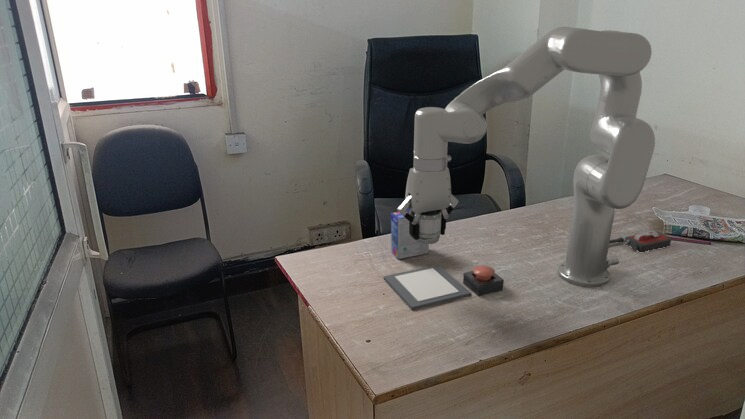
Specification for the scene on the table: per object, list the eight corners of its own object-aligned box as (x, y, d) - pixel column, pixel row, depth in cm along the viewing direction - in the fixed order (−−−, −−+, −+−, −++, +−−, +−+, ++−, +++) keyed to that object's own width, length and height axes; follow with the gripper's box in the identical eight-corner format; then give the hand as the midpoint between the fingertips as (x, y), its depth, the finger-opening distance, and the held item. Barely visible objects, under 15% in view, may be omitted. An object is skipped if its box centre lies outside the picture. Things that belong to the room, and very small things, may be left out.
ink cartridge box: (420, 245, 156) (422, 199, 150) (429, 253, 151) (431, 205, 146) (389, 251, 152) (389, 204, 147) (398, 260, 148) (398, 211, 142)
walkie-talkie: (650, 236, 162) (596, 246, 155) (652, 222, 160) (599, 232, 154) (674, 247, 154) (619, 259, 148) (677, 233, 153) (622, 244, 146)
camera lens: (409, 236, 130) (410, 206, 127) (432, 232, 133) (433, 202, 130) (421, 246, 125) (422, 215, 122) (445, 242, 127) (446, 211, 124)
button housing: (486, 277, 138) (487, 267, 137) (502, 290, 132) (503, 279, 131) (463, 283, 135) (463, 272, 134) (478, 296, 129) (479, 285, 128)
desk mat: (438, 267, 143) (438, 263, 143) (471, 295, 130) (471, 292, 129) (383, 279, 138) (383, 275, 137) (411, 310, 124) (411, 306, 124)
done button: (486, 273, 136) (486, 264, 135) (498, 282, 132) (499, 273, 131) (468, 277, 134) (469, 268, 133) (480, 286, 130) (480, 277, 129)
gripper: (454, 154, 128) (450, 223, 135) (388, 163, 122) (387, 235, 128) (471, 163, 122) (466, 235, 128) (402, 172, 115) (401, 247, 122)
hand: (427, 234), depth 128 cm, fingers closed on camera lens, 6 cm apart
